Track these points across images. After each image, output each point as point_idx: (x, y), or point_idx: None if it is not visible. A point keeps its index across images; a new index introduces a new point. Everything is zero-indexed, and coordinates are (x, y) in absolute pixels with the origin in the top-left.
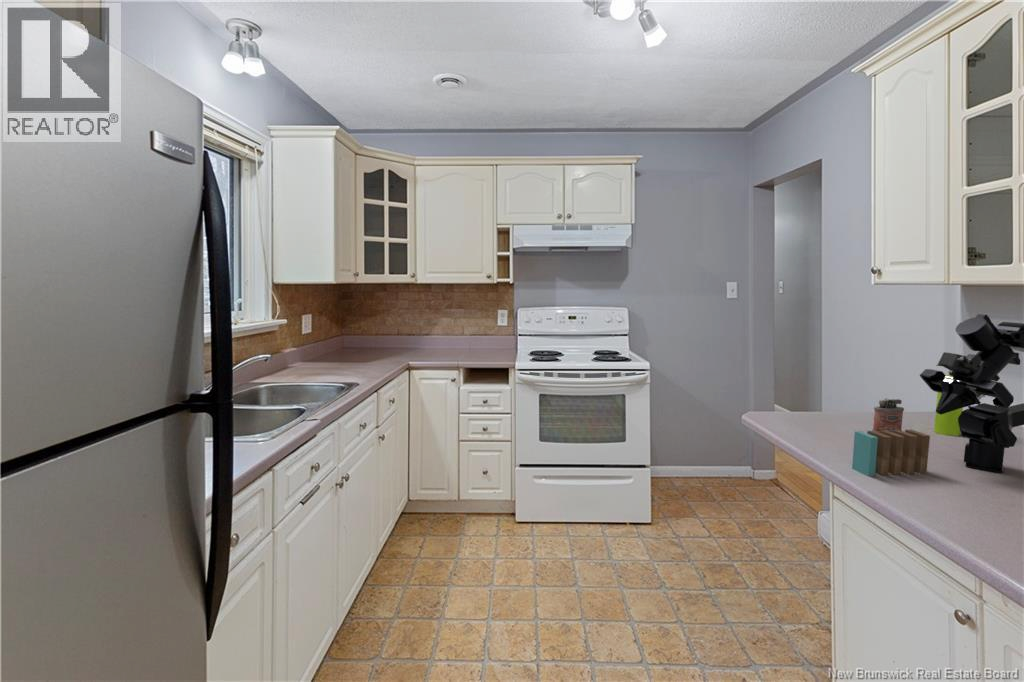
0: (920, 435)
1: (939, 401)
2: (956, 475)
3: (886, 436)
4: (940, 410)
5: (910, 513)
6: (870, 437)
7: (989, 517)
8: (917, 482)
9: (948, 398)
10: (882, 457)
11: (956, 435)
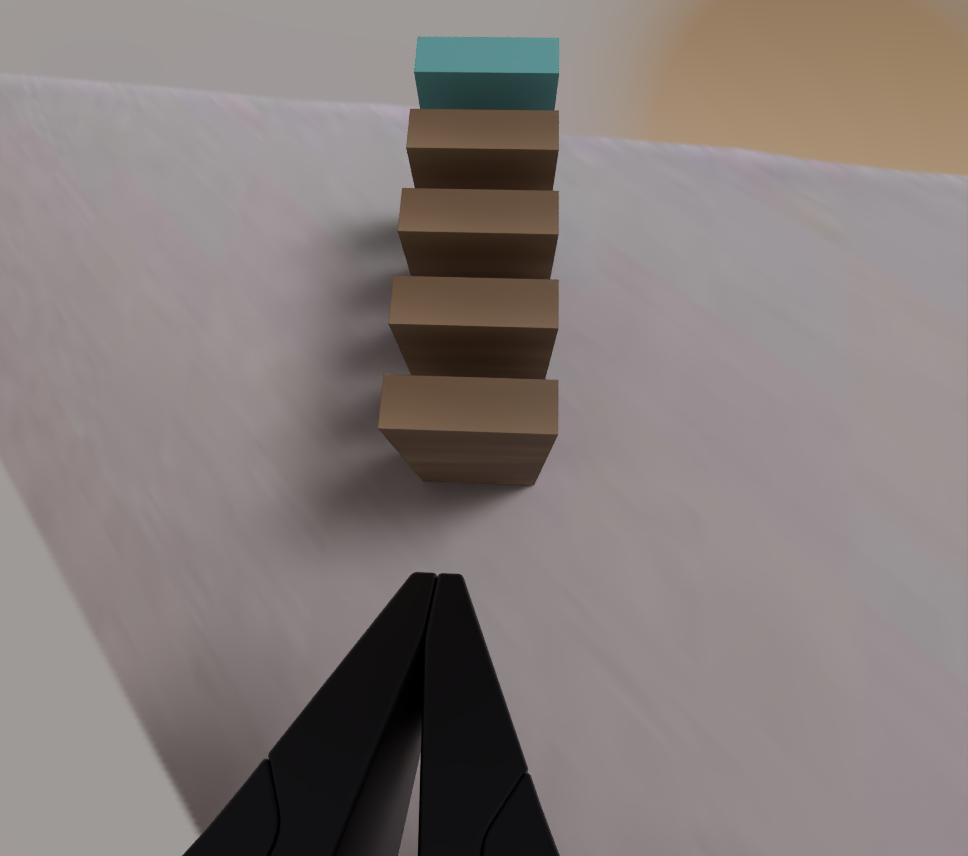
0: (412, 378)
1: (489, 696)
2: (374, 618)
3: (421, 129)
4: (401, 593)
5: (130, 106)
6: (424, 37)
7: (10, 313)
8: (341, 347)
9: (325, 802)
10: None
11: None
